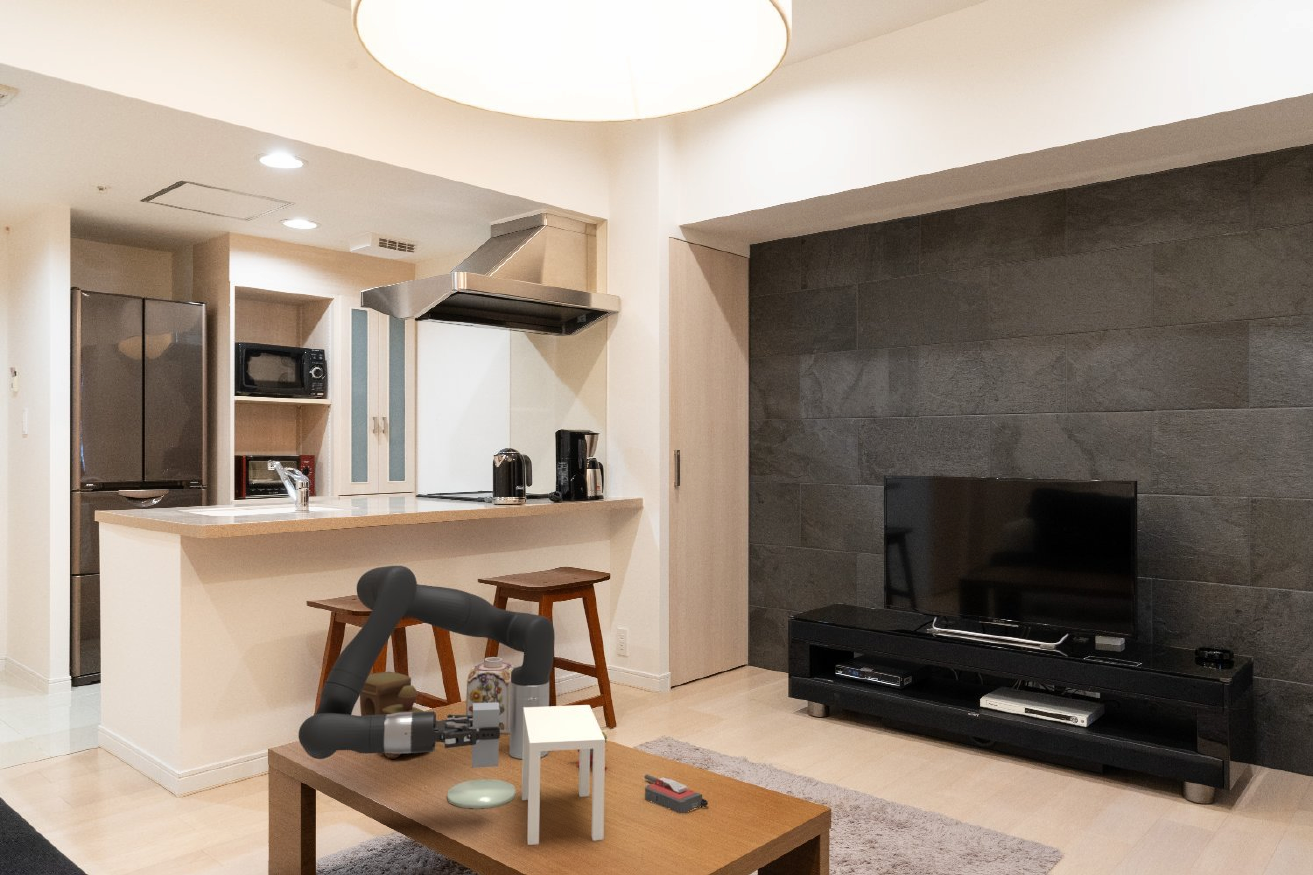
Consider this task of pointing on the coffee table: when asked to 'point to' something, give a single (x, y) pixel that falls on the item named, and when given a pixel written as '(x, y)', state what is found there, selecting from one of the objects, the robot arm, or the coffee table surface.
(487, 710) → the block
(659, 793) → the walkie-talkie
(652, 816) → the coffee table surface
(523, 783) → the white step stool
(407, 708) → the wooden toy train
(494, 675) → the decorative jar
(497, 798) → the plate
